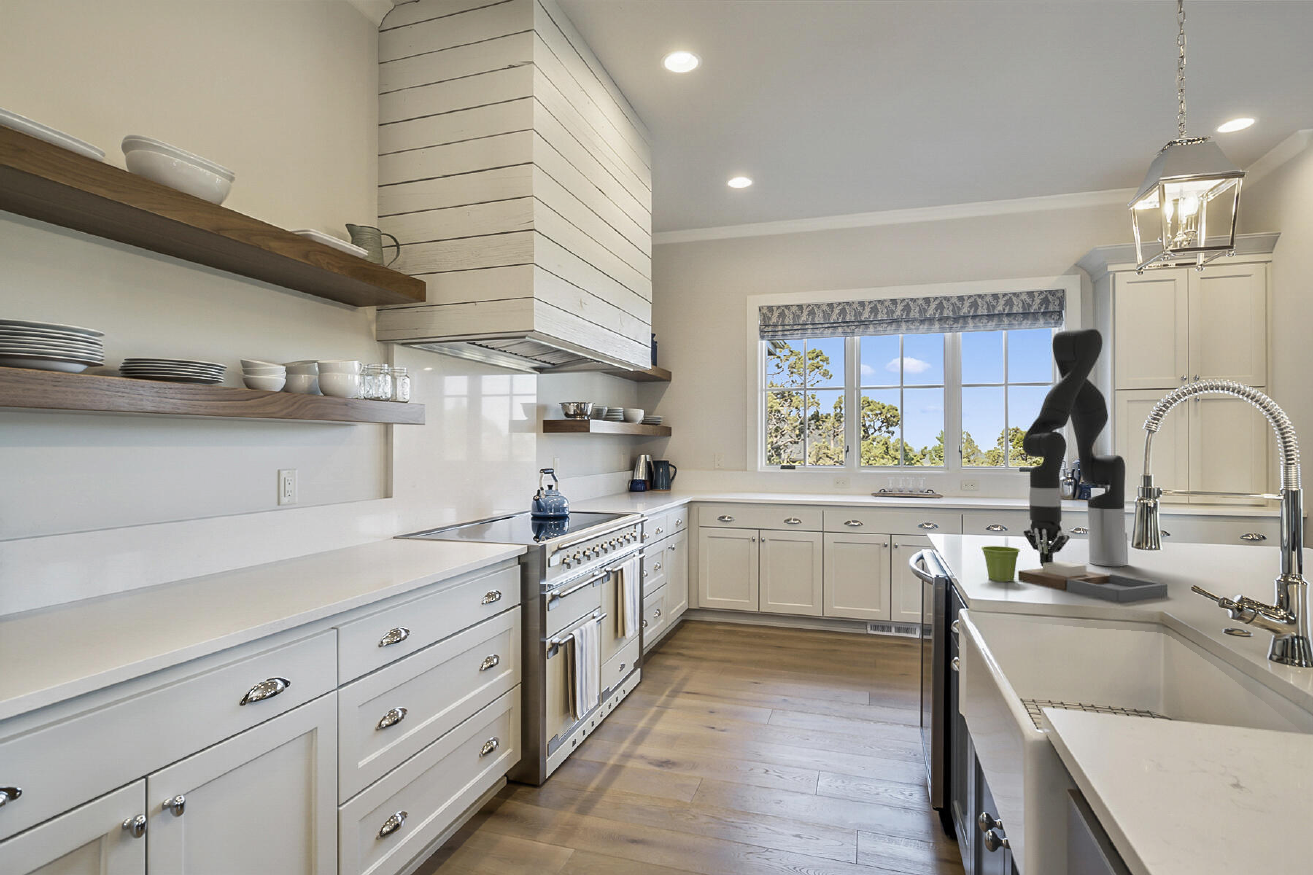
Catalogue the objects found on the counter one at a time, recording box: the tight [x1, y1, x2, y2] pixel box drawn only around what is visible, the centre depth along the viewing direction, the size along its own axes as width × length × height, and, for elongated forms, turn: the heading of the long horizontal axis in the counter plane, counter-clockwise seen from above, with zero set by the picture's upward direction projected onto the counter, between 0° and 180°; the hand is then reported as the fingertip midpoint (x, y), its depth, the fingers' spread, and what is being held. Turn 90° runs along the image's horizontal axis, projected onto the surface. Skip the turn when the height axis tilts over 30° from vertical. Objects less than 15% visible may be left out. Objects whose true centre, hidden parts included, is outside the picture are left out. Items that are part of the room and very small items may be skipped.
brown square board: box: [1017, 567, 1110, 592], centre depth 174 cm, size 16×14×2 cm
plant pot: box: [981, 545, 1021, 583], centre depth 178 cm, size 9×9×9 cm
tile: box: [1042, 560, 1087, 577], centre depth 173 cm, size 7×7×2 cm
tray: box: [1066, 573, 1169, 604], centre depth 160 cm, size 16×14×3 cm
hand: (1046, 566), depth 178 cm, fingers closed
